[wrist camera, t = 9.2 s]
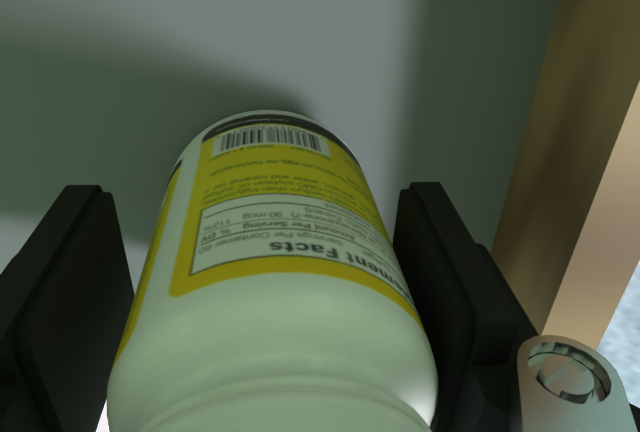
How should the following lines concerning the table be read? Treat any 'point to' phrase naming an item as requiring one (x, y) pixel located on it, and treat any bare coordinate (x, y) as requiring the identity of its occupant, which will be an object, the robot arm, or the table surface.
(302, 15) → the mat
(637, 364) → the table surface
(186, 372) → the supplement bottle
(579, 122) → the corner walls
